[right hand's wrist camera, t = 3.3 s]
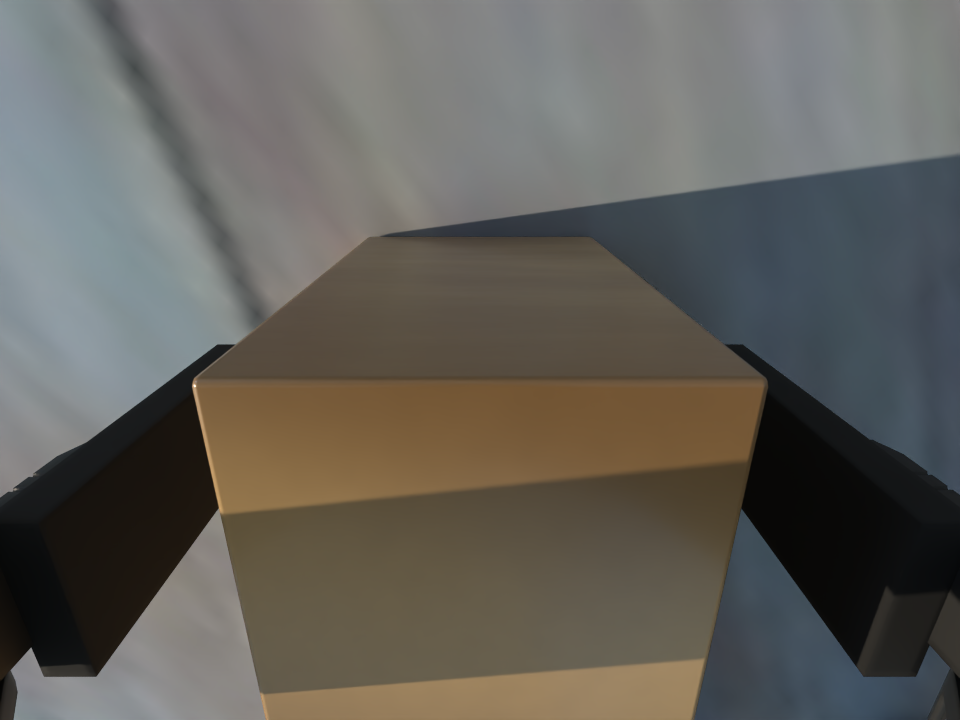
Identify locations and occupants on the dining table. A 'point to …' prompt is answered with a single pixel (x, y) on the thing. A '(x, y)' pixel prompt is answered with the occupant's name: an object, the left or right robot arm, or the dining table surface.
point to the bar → (480, 485)
